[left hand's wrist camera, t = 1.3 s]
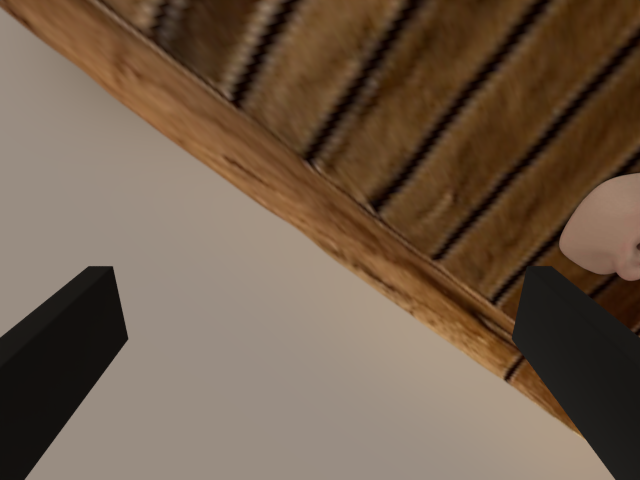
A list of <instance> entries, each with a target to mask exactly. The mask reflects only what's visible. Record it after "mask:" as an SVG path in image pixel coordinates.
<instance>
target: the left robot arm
mask: <svg viewBox="0 0 640 480" xmlns="http://www.w3.org/2000/svg"><path fill="white" fill-rule="evenodd" d="M127 340H128V335H127V330H126V326H125V321H124V316H123V312H122V307H121V302H120V298H119V293H118V288H117V284H116V279H115V274H114V270H113V266H88V267H87V268H86V269H85V270H83V271H82V272H81V273H80V274H78V275H77V276H76V277H75V278H73V279H72V280H71V281H70V282H69V283H67V284H66V285H65V286H64V287H62V288H61V289H60V290H59V291H57V292H56V293H55V294H54V295H52V296H51V297H50V298H49V299H48V300H46V301H45V302H44V303H43V304H41V305H40V306H39V307H38V308H36V309H35V310H34V311H33V312H31V313H30V314H29V315H28V316H26V317H25V318H24V319H23V320H22V321H20V322H19V323H18V324H17V325H15V326H14V327H13V328H12V329H10V330H9V331H8V332H7V333H5V334H4V335H3V336H2V337H0V480H25V478H26V477H27V476H28V474H29V473H30V472H31V470H32V469H33V468H34V466H35V465H36V463H37V462H38V461H39V459H40V458H41V457H42V455H43V454H44V453H45V451H46V450H47V449H48V447H49V446H50V444H51V443H52V442H53V440H54V439H55V438H56V436H57V435H58V434H59V432H60V431H61V430H62V428H63V427H64V426H65V424H66V423H67V421H68V420H69V419H70V417H71V416H72V415H73V413H74V412H75V411H76V409H77V408H78V407H79V405H80V404H81V402H82V401H83V400H84V398H85V397H86V396H87V394H88V393H89V392H90V390H91V389H92V388H93V386H94V385H95V384H96V382H97V381H98V379H99V378H100V377H101V375H102V374H103V373H104V371H105V370H106V369H107V367H108V366H109V365H110V363H111V362H112V361H113V359H114V358H115V356H116V355H117V354H118V352H119V351H120V350H121V348H122V347H123V346H124V344H125V343H126V342H127ZM512 340H513V342H514V343H515V344H516V346H517V347H518V348H519V350H520V351H521V352H522V354H523V355H524V356H525V358H526V359H527V361H528V362H529V363H530V365H531V366H532V367H533V369H534V370H535V371H536V373H537V374H538V375H539V377H540V378H541V379H542V381H543V382H544V384H545V385H546V386H547V388H548V389H549V390H550V392H551V393H552V394H553V396H554V397H555V398H556V400H557V401H558V403H559V404H560V405H561V407H562V408H563V409H564V411H565V412H566V413H567V415H568V416H569V417H570V419H571V420H572V421H573V423H574V424H575V426H576V427H577V428H578V430H579V431H580V432H581V434H582V435H583V436H584V438H585V439H586V440H587V442H588V443H589V445H590V446H591V447H592V449H593V450H594V451H595V453H596V454H597V455H598V457H599V458H600V459H601V461H602V462H603V463H604V465H605V466H606V468H607V469H608V470H609V472H610V473H611V474H612V476H613V477H614V478H615V480H640V337H638V336H637V335H636V334H635V333H633V332H632V331H631V330H630V329H628V328H627V327H626V326H625V325H623V324H622V323H621V322H620V321H618V320H617V319H616V318H615V317H614V316H612V315H611V314H610V313H609V312H607V311H606V310H605V309H604V308H602V307H601V306H600V305H599V304H597V303H596V302H595V301H594V300H592V299H591V298H590V297H589V296H588V295H586V294H585V293H584V292H583V291H581V290H580V289H579V288H578V287H576V286H575V285H574V284H573V283H571V282H570V281H569V280H568V279H567V278H565V277H564V276H563V275H562V274H560V273H559V272H558V271H557V270H555V269H554V268H553V267H552V266H527V270H526V274H525V279H524V284H523V288H522V293H521V298H520V302H519V307H518V312H517V316H516V321H515V326H514V330H513V335H512Z"/></svg>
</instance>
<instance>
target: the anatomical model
mask: <svg viewBox="0 0 640 480" xmlns="http://www.w3.org/2000/svg"><path fill="white" fill-rule="evenodd" d="M559 246H560V249H561V251H562V252H563V254H564V255H566V256H567V257H568V258H569V259H571V260H572V261H573V262H575V263H576V264H578V265H579V266H581V267H583V268H585V269H587V270H589V271H592V272H594V273H597V274H610V273H614V272H617V274H618V275H619V276H620V277H621V278H623V279H625V280H629V281H633V280H637V279H640V173H636V174H629V175H624V176H619V177H616V178H613V179H610V180H608V181H606V182H604V183H602V184H600V185H599V186H598V187H596V188H595V189H594V190H593V191H592V192H591V193H590V194H589V195H588V196H587V197H586V198H585V199H584V200H583V201H582V202H581V204H580V205H579V206H578V207H577V209H576V210H575V212H574V213H573V215H572V216H571V218H570V220H569V221H568V223H567V225H566V226H565V228H564V230H563V232H562V235H561V238H560V242H559Z"/></svg>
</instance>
